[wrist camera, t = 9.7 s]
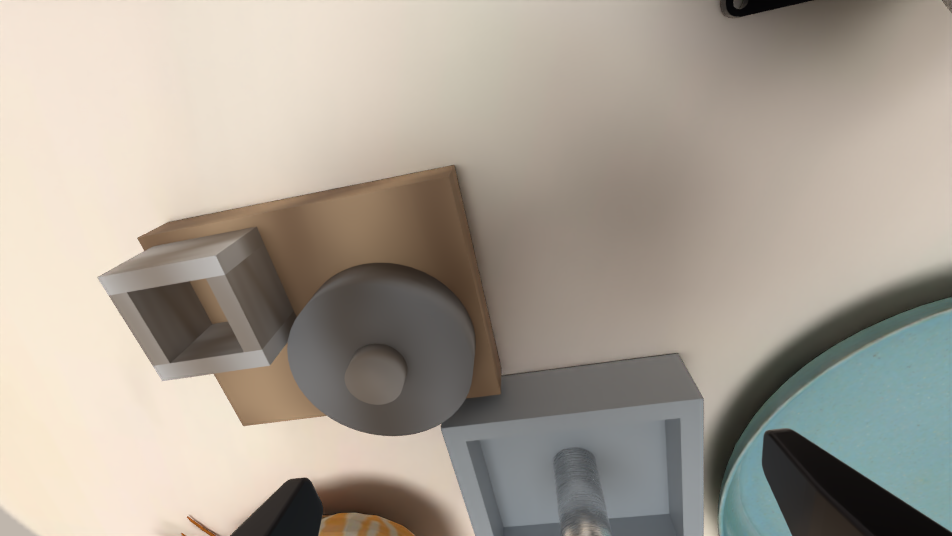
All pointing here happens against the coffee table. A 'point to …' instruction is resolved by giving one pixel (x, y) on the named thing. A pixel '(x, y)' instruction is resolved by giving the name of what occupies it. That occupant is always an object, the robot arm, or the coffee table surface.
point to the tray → (590, 427)
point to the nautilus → (352, 526)
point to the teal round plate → (860, 420)
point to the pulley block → (321, 305)
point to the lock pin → (579, 494)
